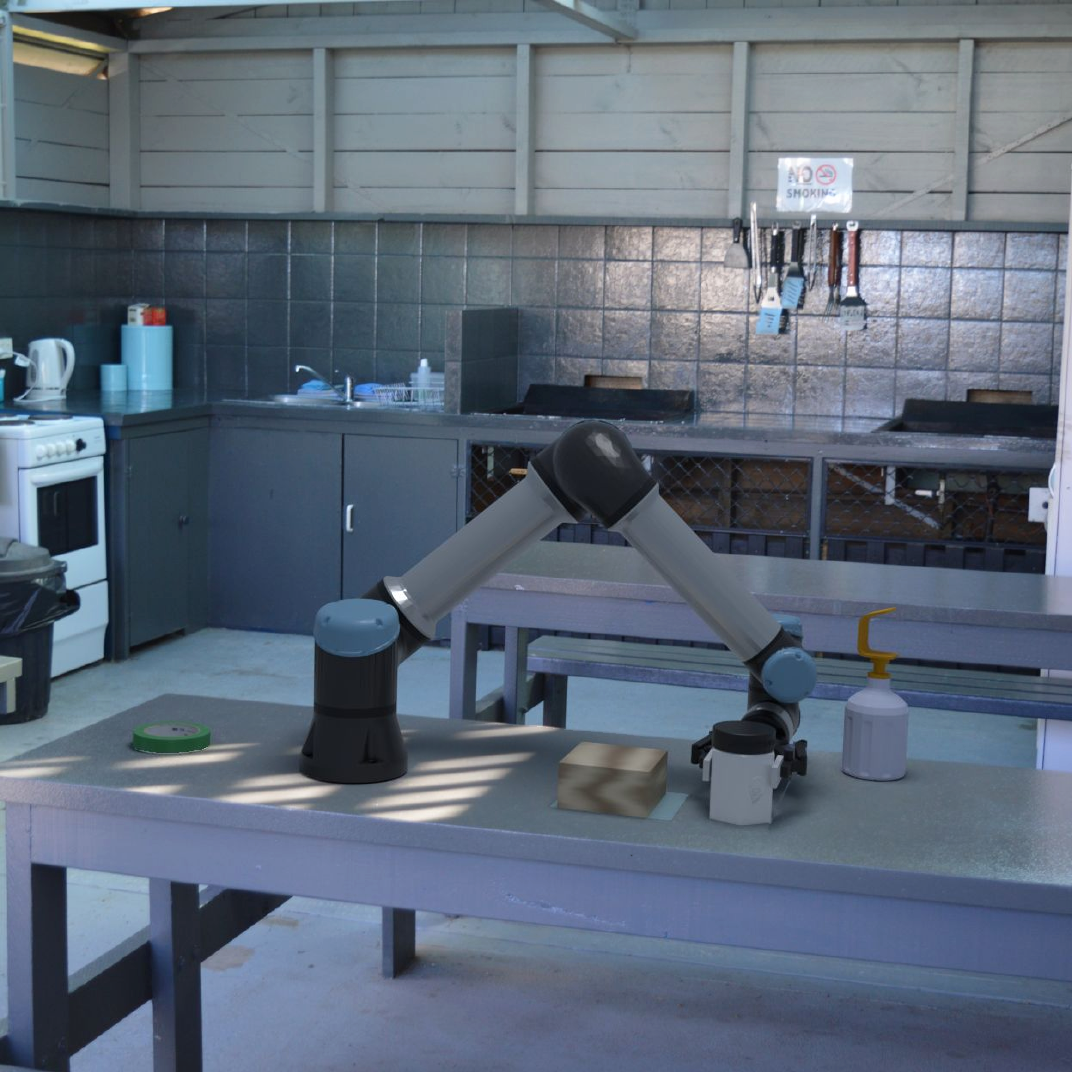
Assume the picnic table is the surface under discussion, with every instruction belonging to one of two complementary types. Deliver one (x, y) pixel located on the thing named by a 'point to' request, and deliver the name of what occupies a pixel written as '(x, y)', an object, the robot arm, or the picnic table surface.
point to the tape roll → (171, 737)
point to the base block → (612, 779)
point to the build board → (660, 806)
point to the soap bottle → (875, 719)
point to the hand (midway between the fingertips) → (739, 774)
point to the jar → (742, 772)
